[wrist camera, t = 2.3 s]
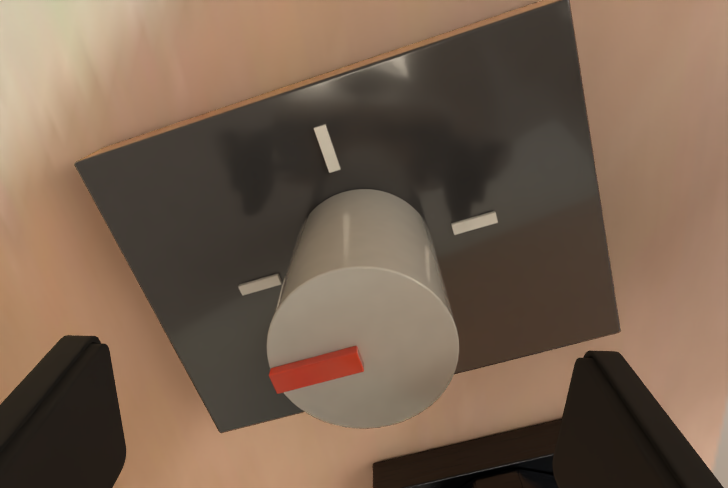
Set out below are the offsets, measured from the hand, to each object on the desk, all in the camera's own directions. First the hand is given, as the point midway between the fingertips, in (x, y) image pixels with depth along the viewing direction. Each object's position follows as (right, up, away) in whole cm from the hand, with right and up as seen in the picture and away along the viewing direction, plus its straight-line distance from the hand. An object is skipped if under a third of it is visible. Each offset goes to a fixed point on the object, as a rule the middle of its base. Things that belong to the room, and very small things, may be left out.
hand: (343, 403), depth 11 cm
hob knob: (0, +3, +6) cm, 7 cm away
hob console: (0, +4, +8) cm, 9 cm away
